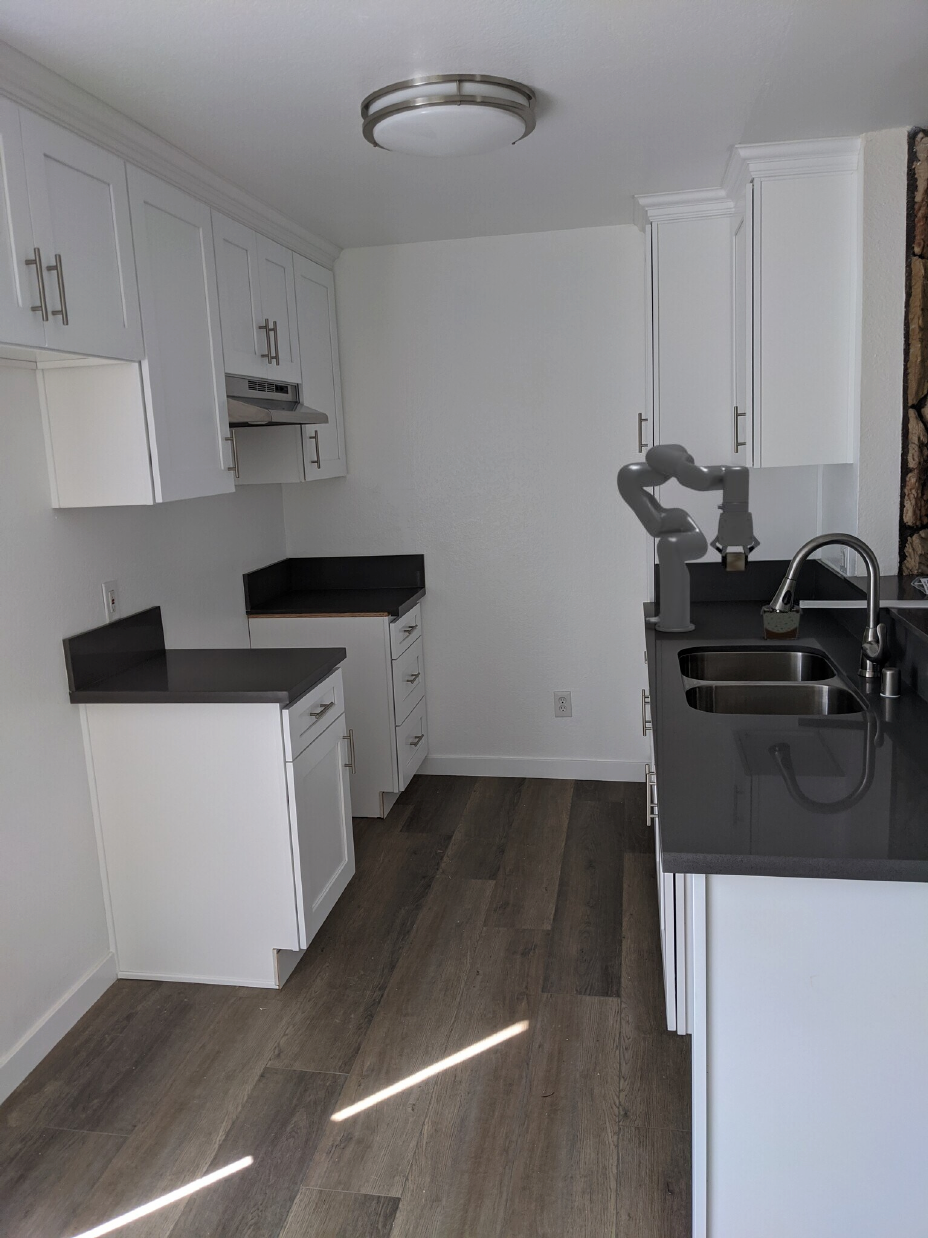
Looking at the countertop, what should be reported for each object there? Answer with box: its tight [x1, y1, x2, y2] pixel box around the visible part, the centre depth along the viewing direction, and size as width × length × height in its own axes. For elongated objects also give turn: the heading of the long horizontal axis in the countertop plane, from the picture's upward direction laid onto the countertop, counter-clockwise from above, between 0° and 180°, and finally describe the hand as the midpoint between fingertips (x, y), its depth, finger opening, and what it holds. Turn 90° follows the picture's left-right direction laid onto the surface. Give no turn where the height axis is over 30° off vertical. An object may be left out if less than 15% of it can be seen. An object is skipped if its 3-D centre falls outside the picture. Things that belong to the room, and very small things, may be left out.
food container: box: [760, 604, 803, 640], centre depth 288 cm, size 12×6×10 cm, turn 84°
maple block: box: [725, 551, 745, 572], centre depth 282 cm, size 5×5×5 cm
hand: (734, 567), depth 283 cm, fingers closed on maple block, 5 cm apart
